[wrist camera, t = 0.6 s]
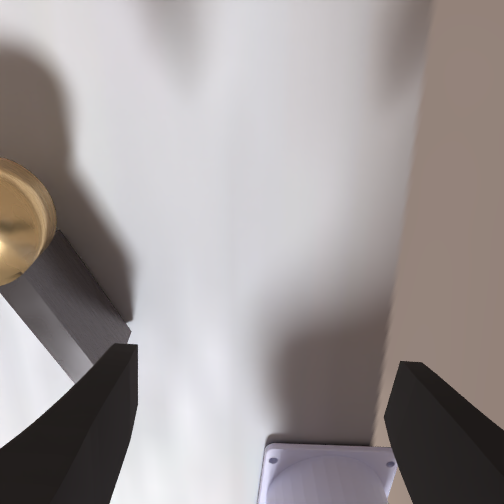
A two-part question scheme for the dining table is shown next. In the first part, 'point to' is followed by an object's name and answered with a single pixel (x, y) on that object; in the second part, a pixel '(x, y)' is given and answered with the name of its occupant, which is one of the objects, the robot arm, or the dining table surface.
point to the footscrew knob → (51, 278)
